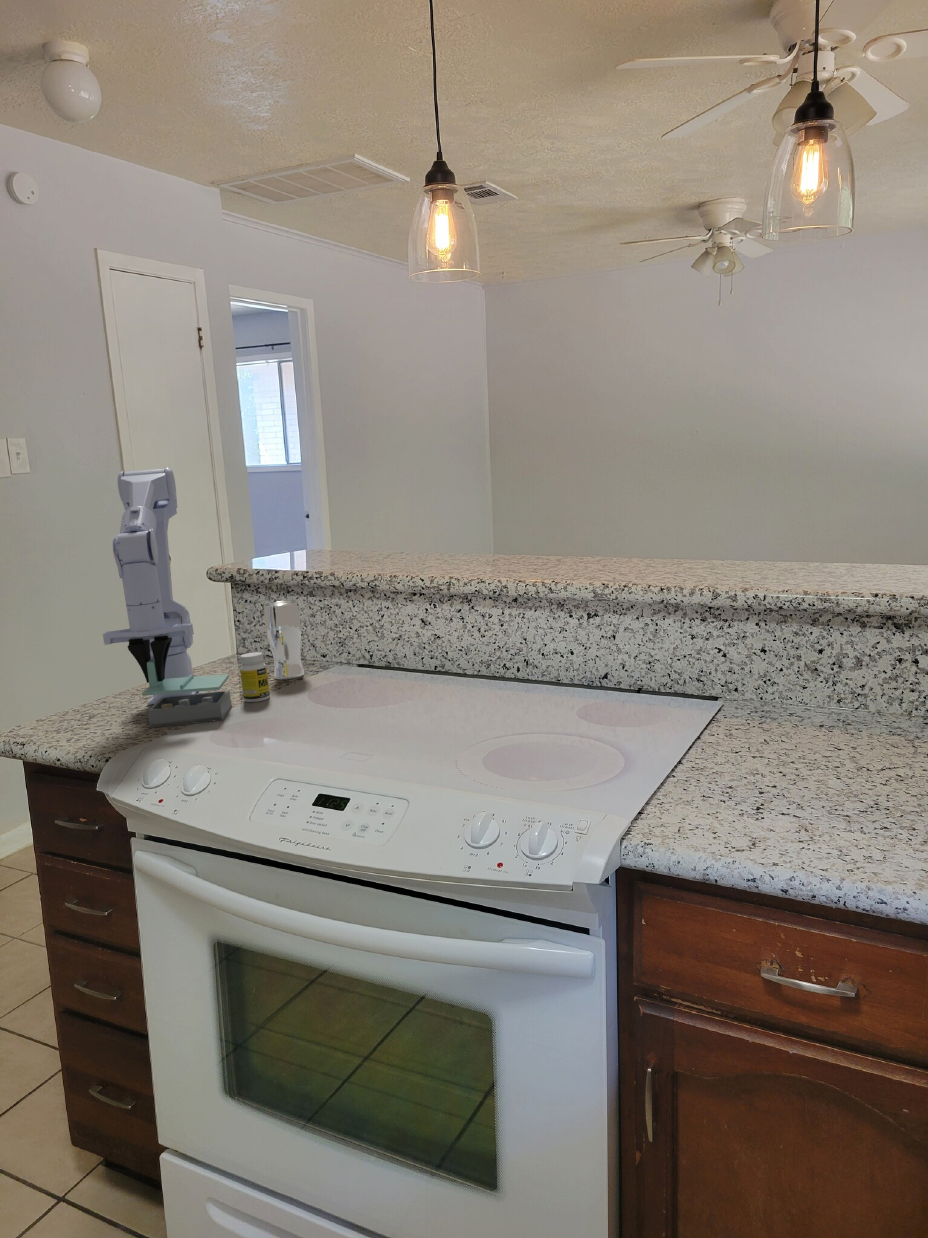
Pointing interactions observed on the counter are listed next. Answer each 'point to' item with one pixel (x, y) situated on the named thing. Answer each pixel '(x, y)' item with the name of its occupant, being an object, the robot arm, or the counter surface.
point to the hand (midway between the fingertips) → (155, 680)
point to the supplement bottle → (254, 677)
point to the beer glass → (284, 638)
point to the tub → (189, 709)
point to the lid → (181, 682)
